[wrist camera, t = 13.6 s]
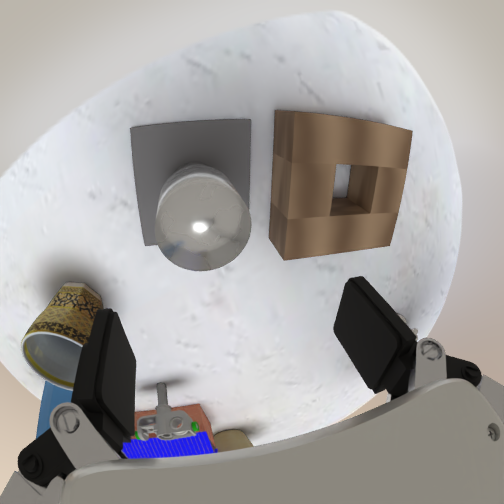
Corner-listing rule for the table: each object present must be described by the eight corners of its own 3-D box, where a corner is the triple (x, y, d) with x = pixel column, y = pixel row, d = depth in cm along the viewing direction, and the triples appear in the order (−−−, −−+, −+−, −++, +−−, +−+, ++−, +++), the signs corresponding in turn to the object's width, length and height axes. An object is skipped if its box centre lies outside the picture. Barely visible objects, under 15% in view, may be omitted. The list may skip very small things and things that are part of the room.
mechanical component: (131, 385, 38) (132, 437, 30) (186, 374, 40) (195, 428, 31) (139, 394, 40) (142, 443, 32) (192, 383, 41) (201, 434, 33)
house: (211, 423, 52) (222, 467, 42) (131, 432, 48) (134, 475, 38) (200, 401, 45) (211, 455, 36) (108, 411, 42) (108, 461, 32)
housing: (384, 124, 27) (412, 131, 23) (367, 228, 34) (389, 245, 30) (274, 110, 23) (294, 111, 20) (268, 238, 31) (283, 260, 27)
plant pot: (262, 419, 56) (282, 475, 43) (249, 440, 63) (265, 487, 50) (200, 426, 51) (214, 487, 38) (197, 445, 58) (208, 496, 45)
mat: (249, 119, 23) (250, 119, 23) (247, 232, 30) (248, 234, 29) (131, 127, 21) (130, 128, 20) (145, 243, 27) (144, 246, 26)
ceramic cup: (38, 267, 24) (6, 326, 16) (111, 270, 27) (95, 336, 19) (63, 342, 30) (50, 399, 22) (124, 346, 34) (122, 407, 25)
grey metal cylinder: (224, 151, 24) (252, 179, 16) (225, 210, 27) (250, 265, 19) (159, 156, 22) (148, 188, 14) (165, 216, 26) (162, 276, 17)
